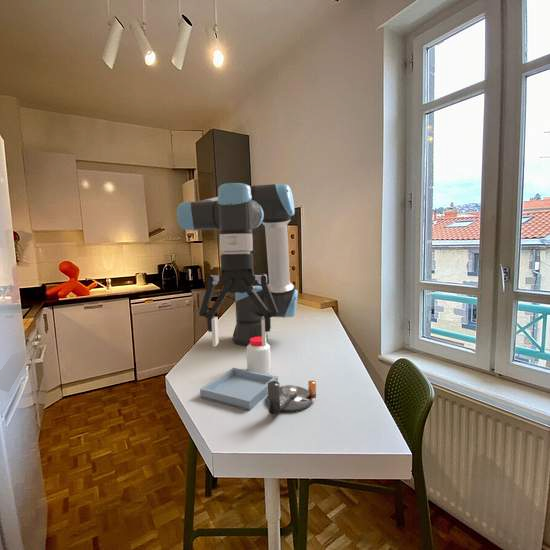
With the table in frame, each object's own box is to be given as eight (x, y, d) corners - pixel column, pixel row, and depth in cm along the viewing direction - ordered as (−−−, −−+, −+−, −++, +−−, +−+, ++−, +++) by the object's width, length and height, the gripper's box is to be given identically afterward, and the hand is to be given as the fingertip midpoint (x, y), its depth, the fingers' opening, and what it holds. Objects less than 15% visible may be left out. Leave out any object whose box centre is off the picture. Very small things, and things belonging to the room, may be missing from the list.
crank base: (259, 405, 82) (258, 386, 81) (279, 386, 92) (279, 369, 92) (304, 417, 76) (304, 396, 75) (320, 395, 87) (320, 377, 86)
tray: (200, 397, 87) (199, 388, 87) (233, 375, 101) (233, 367, 101) (249, 410, 79) (249, 401, 79) (278, 384, 94) (277, 376, 93)
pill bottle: (262, 378, 98) (261, 344, 97) (242, 373, 102) (241, 340, 101) (275, 369, 105) (274, 337, 104) (256, 365, 109) (255, 334, 108)
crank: (286, 390, 87) (285, 365, 86) (299, 393, 85) (299, 368, 84) (264, 412, 76) (263, 384, 75) (279, 416, 74) (278, 387, 73)
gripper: (181, 254, 70) (186, 349, 72) (286, 252, 68) (288, 350, 70) (192, 253, 77) (197, 339, 80) (288, 251, 75) (289, 339, 78)
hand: (239, 344), depth 75 cm, fingers open, 11 cm apart
